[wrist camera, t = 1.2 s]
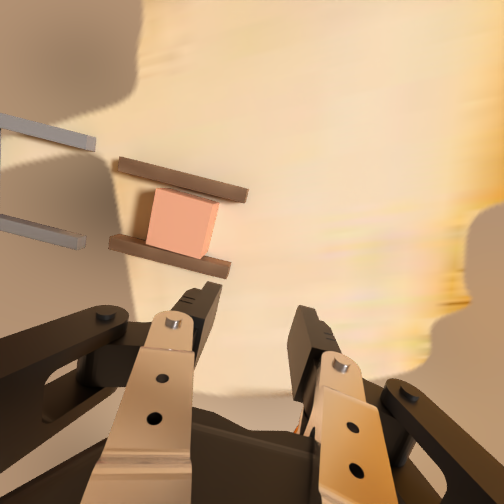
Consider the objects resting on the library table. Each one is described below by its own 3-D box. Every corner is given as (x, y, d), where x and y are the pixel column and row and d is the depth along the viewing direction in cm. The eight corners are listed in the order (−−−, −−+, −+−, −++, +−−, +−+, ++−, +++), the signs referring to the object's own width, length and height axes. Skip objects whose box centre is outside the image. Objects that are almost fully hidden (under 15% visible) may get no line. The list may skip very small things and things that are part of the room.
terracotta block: (170, 188, 31) (156, 188, 27) (219, 202, 31) (212, 204, 27) (160, 237, 32) (145, 243, 28) (208, 250, 32) (199, 259, 28)
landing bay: (-12, 110, 30) (-27, 106, 28) (96, 137, 30) (87, 135, 28) (-13, 222, 33) (-26, 223, 31) (85, 247, 33) (76, 250, 31)
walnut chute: (129, 158, 30) (119, 156, 28) (248, 189, 30) (247, 189, 28) (117, 245, 33) (108, 249, 31) (228, 273, 33) (226, 279, 31)
